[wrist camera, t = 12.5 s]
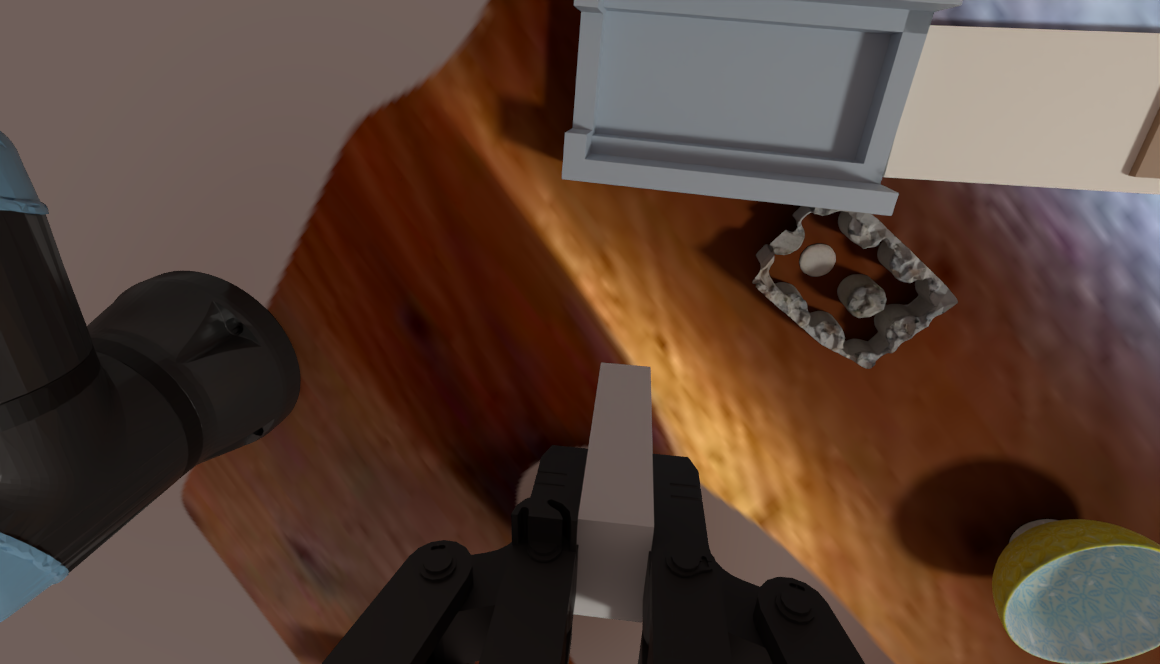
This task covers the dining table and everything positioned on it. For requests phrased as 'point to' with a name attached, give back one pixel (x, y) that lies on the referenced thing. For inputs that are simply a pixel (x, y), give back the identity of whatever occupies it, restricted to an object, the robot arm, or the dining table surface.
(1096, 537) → the bowl
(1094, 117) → the lid
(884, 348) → the egg carton
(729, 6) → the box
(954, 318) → the dining table surface
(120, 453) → the robot arm
